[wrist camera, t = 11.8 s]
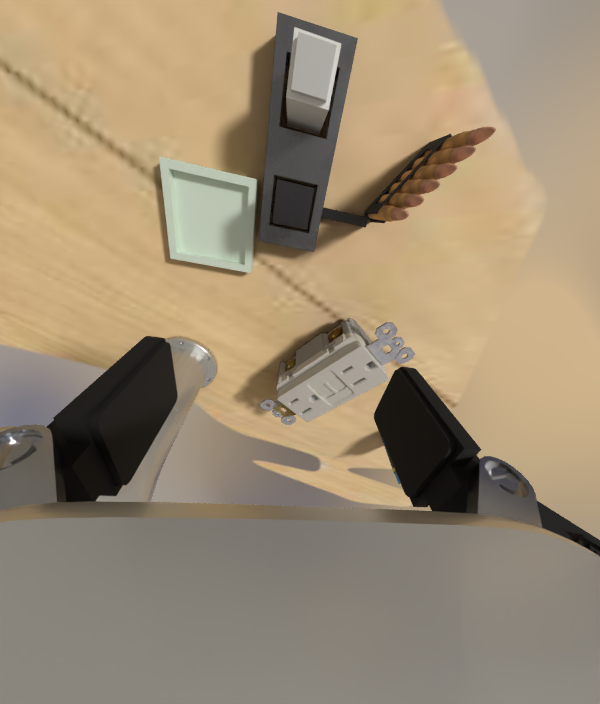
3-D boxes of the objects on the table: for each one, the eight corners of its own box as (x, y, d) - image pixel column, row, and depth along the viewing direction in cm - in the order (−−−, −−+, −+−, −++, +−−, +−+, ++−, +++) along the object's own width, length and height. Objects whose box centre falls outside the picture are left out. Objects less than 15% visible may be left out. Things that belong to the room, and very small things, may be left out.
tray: (252, 270, 37) (250, 273, 36) (175, 256, 36) (170, 258, 34) (258, 180, 31) (257, 179, 29) (165, 158, 29) (158, 156, 28)
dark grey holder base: (354, 257, 37) (370, 270, 29) (261, 238, 35) (252, 247, 27) (409, 73, 26) (457, 19, 18) (279, 32, 24) (273, -47, 16)
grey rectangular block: (319, 135, 29) (329, 107, 20) (287, 126, 28) (285, 94, 20) (327, 89, 26) (342, 39, 18) (293, 78, 26) (294, 21, 18)
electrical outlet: (403, 335, 44) (425, 368, 36) (294, 400, 55) (292, 436, 47) (371, 291, 39) (388, 318, 31) (259, 372, 50) (250, 407, 42)
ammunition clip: (371, 222, 34) (404, 229, 24) (363, 212, 33) (394, 215, 23) (436, 155, 30) (509, 129, 20) (429, 141, 29) (501, 108, 19)
